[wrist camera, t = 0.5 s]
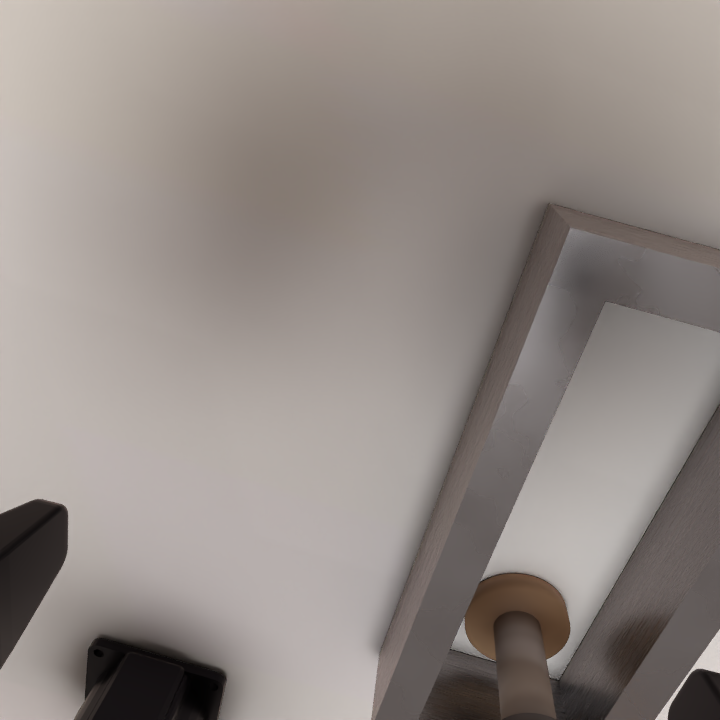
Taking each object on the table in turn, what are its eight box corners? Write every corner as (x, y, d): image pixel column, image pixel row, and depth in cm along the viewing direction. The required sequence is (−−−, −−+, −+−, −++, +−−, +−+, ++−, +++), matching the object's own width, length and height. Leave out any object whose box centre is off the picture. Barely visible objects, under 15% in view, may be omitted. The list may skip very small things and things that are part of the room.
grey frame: (579, 713, 26) (597, 799, 23) (379, 655, 26) (369, 732, 23) (847, 285, 18) (935, 327, 14) (549, 203, 18) (570, 227, 15)
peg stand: (544, 658, 25) (571, 816, 20) (452, 632, 25) (452, 781, 20) (582, 590, 23) (623, 741, 18) (482, 561, 23) (493, 703, 18)
